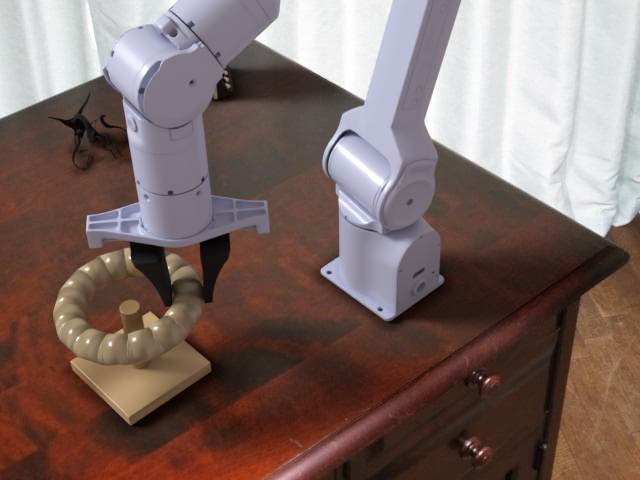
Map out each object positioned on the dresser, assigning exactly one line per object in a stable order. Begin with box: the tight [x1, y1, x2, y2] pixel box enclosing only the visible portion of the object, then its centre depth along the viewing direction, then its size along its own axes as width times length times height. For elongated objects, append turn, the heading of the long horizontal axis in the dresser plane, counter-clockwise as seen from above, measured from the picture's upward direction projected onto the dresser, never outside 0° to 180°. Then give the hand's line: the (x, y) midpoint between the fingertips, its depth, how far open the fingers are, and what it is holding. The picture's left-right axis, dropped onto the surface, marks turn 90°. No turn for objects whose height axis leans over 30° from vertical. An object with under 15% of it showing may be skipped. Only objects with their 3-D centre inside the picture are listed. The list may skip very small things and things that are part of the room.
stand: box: [69, 299, 212, 426], centre depth 101 cm, size 9×9×8 cm
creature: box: [47, 91, 129, 170], centre depth 127 cm, size 8×5×8 cm
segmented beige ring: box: [52, 247, 205, 366], centre depth 98 cm, size 13×13×3 cm
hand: (188, 296), depth 98 cm, fingers closed on segmented beige ring, 3 cm apart
